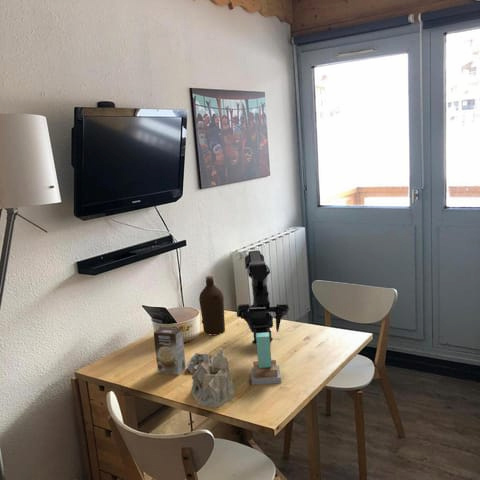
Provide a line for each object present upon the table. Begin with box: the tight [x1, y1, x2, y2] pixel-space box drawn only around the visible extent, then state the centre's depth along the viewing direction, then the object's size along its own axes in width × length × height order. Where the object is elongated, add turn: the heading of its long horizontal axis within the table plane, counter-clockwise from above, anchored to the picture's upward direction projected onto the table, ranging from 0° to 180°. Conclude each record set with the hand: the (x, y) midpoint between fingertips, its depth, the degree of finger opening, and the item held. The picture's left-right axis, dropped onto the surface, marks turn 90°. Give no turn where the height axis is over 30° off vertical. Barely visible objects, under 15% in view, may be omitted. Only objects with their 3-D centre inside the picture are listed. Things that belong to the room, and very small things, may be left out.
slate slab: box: [250, 364, 282, 386], centre depth 185 cm, size 10×10×2 cm
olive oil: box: [198, 275, 226, 336], centre depth 231 cm, size 11×11×25 cm
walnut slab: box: [252, 359, 278, 378], centre depth 184 cm, size 8×8×2 cm
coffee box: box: [153, 326, 187, 376], centre depth 195 cm, size 9×6×16 cm
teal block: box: [256, 332, 272, 368], centre depth 184 cm, size 4×4×11 cm
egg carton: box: [185, 352, 213, 373], centre depth 198 cm, size 11×8×4 cm
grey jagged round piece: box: [190, 348, 236, 408], centre depth 174 cm, size 16×16×15 cm
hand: (265, 331), depth 191 cm, fingers open, 9 cm apart
